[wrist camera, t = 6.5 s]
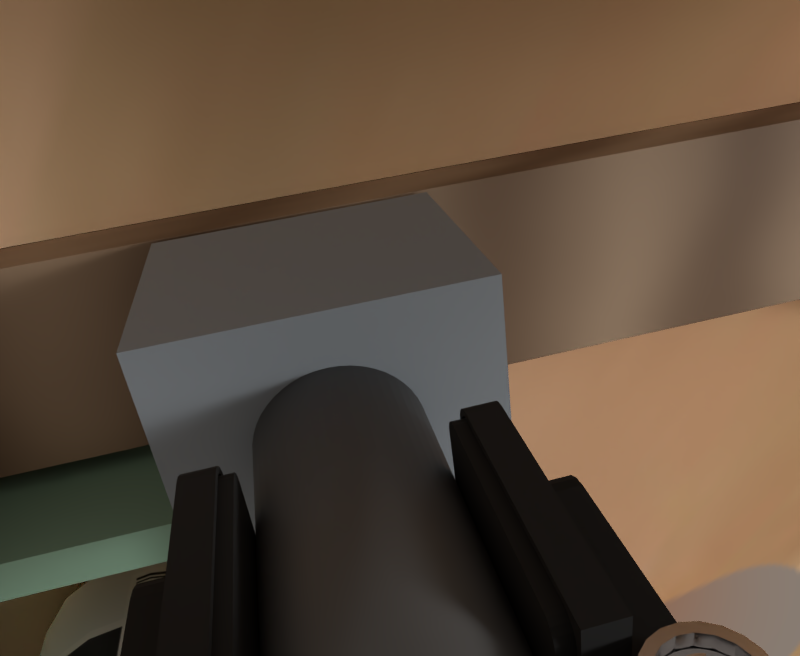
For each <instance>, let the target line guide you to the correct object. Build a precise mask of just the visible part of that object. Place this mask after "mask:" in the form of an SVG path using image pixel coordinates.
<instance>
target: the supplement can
mask: <svg viewBox="0 0 800 656" xmlns="http://www.w3.org/2000/svg"><path fill="white" fill-rule="evenodd" d="M166 566H167V561H166V562H162V563H158V564H154V565H150V566H146V567H142V568H138V569H134V570H130V571H125V572H121V573H117V574H113V575H109V576H105V577H101V578H97V579H93V580H89V581H88V582H86V583H85V584H84V585H83V586H81V587H80V588H79V589H77V590H76V591H75V592H74V593H72V594H71V595H70V596H68V597H67V598H66V600H65V602H64V603H63V605H62V607H61V608H60V610H59V612H58V614H57V615H56V617H55V619H54V621H53V622H52V624H51V626H50V627H49V629H48V631H47V633H46V635H45V639H44V642H43V646H42V649H41V653H40V656H120V654H121V648H122V642H123V636H124V631H125V625H126V619H127V613H128V608H129V602H130V597H131V594H132V590H133V588H134V587H135V585H136V584H139V583H142V582H146V581H150V580H154V579H158V578H162V577H165V574H166Z"/></svg>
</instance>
